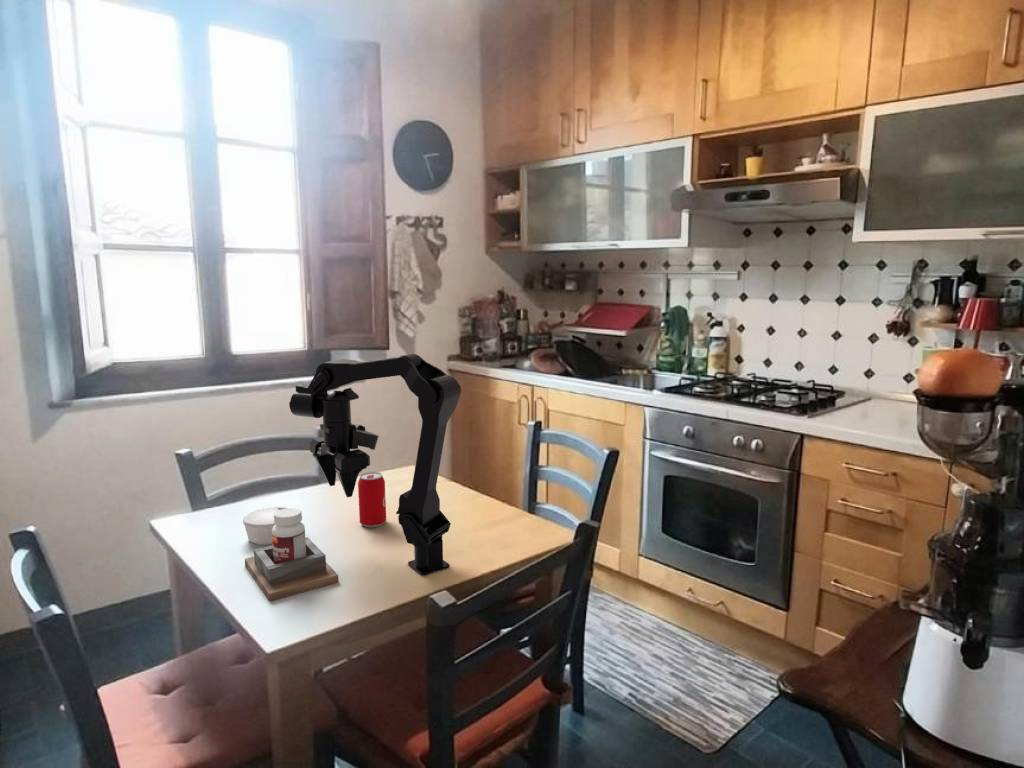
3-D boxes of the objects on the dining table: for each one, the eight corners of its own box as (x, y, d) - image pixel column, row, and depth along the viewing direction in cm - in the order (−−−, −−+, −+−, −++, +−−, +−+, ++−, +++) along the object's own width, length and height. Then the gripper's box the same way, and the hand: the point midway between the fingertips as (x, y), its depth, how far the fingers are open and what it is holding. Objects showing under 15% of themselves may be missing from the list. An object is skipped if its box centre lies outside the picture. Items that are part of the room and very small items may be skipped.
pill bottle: (267, 571, 127) (263, 515, 125) (288, 558, 133) (284, 505, 131) (293, 575, 125) (289, 520, 123) (313, 562, 130) (310, 509, 129)
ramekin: (307, 534, 149) (306, 512, 148) (267, 551, 140) (266, 528, 139) (274, 524, 155) (273, 503, 154) (233, 540, 145) (232, 518, 144)
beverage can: (389, 519, 158) (388, 471, 155) (382, 529, 151) (380, 479, 149) (364, 518, 158) (362, 471, 156) (356, 528, 152) (353, 479, 150)
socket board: (338, 582, 125) (337, 560, 125) (269, 601, 118) (268, 578, 117) (308, 550, 140) (307, 530, 139) (245, 565, 133) (243, 544, 132)
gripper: (392, 422, 134) (394, 495, 136) (354, 408, 148) (357, 473, 151) (340, 430, 127) (344, 506, 130) (306, 414, 142) (310, 482, 144)
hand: (340, 491), depth 139 cm, fingers open, 9 cm apart
